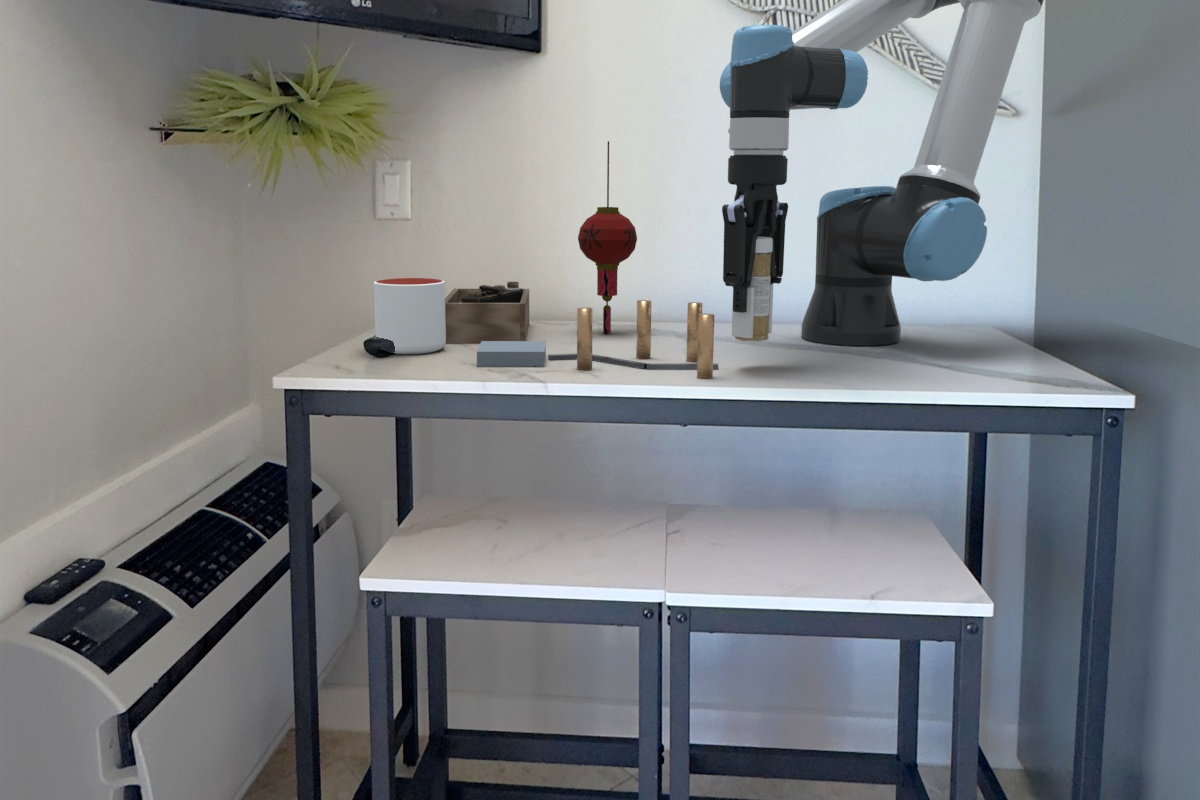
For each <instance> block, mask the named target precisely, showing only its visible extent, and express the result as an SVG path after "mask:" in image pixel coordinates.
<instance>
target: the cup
mask: <svg viewBox="0 0 1200 800" xmlns="http://www.w3.org/2000/svg"><path fill="white" fill-rule="evenodd" d="M445 283H446V281H445V280H444V279H439V278H429V277H427V278H426V277H400V278H399V277H397V278H396V277H395V278H393V277H392V278H385V279H384V278H383V279H378V280H375V281H374V282H373V297H374V298H373V300H374V302H373V303H374V324H375V325H374V327H375V331H374V332H375V338H376V337H379V338H384V339H388V340H391V341H393V343H394V346H395V352H394V353H395V354H394V355H423V354H431V353H435V352H438V351H440V350H441V349H443V348H444V346H445V345H446V344H447V343H446V319H445V298H446V288H445V287H446V284H445Z"/></svg>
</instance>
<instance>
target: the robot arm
mask: <svg viewBox="0 0 1200 800" xmlns="http://www.w3.org/2000/svg"><path fill="white" fill-rule="evenodd" d="M1044 1H1045V0H840V1H838V2H836V3H835V4H834V5H832V6H830V7H829V8H827V9H825V10H823V12H821V13H819V14H818V15H816V16H815V17H813V18H812V19H810V20H809V21H806V22H805V23H803V24H802V25H801V26H799V27H798V28H796V29H794V30H792V29H791V28H790V27H788V26H785V25H782V24H781V25H779V24H754V25H753V24H752V25H746V26H742V27H740V28H738V29H736V30H735V32H734V34H733V37H732V43H731V51H730V53H731V54H730V62H729V63H728V64H727V65H726V66H725V67H724V69H723V70H722V73H721V76H720V78H719V92H720V96H721V99H722V100H723V103H724V104H725V105H726V106H727V107H728V108H729V118H730V120H729V127H728V132H727V133H728V134H729V139H728V140H729V141H728V143H729V144H728V147H729V150H730V151H733V155H729V157H728V160H727V162H728V163H727V165H728V166H727V182H728V184H729V185H733V186H734V185H735V186H736V191H735V195H734V200H733V203H731V204H723V205H722V207H721V212H722V219H723V262H722V263H723V265H722V266H723V267H722V273H723V274H722V279H723V280H722V281H723V282H724V285H725V286H726V287H732V289H733V290H732V312H731V313H732V315H731V316H732V317H731V337H734V338H735V337H743V338H753V316H754V287H750V285H751V280H752V273H753V266H754V259H755V252H756V240H757V238H758V236H763V237H770V238H772V239H773V250H772V252H771V254H772V255H771V263H770V276H771V279H770V302H769V315H768V335H769V334H772V333H773V328H772V327H773V306H774V305H773V303H774V300H773V299H774V284H778V285H779V284H781V283H782V279H783V278H782V277H783V275H784V261H785V260H784V259H785V256H784V255H785V237H786V220H787V217H788V209H789V204H788V203H787V202H780V201H779V196H778V195H779V194H778V192H777V191H778V190H777V186H784V185H785V184H786V183H787V181H788V180H787V179H788V158H787V156H786V155H784V152H785V151H788V150H789V143H790V141H789V136H790V134H789V132H790V111H793V110H794V111H795V110H807V109H829V110H838V109H849V108H852V107H854V106H856V105H857V104H858V103H859V102H860V101H861V99H862V98H863V96H864V95H865V93H866V90H867V87H868V79H869V78H868V76H869V69H868V66H867V63H866V61H865V59H864V58H863V56H862V55H861V54H859V53H858V52H860V51H861V50H862V49H864V48H865V47H867V46H869V45H871V44H872V43H873V42H875V41H877V40H878V39H879V38H881V37H882V36H884V35H886V34H887V33H888V32H890V31H892V30H893V29H894V28H896V27H898V26H900V25H901V24H902V23H904V22H905V21H907V20H908V19H910V18H911V19H921V18H923V17H925V16H927V15H928V14H930V13H932V12H933V11H935V10H937V9H939V8H944V7H948V6H951V5H954V4H960V5H961V7H962V9H963V12H962V15H961V19H960V21H959V24H958V28H957V31H956V34H955V36H954V40H953V43H952V46H951V49H950V53H949V55H948V59H947V62H946V66H945V68H944V72H943V75H942V78H941V81H940V84H939V87H938V90H937V94H936V96H935V100H934V103H933V106H932V109H931V113H930V116H929V119H928V123H927V125H926V128H925V132H924V134H923V137H922V141H921V144H920V148H919V150H918V154H917V157H916V160H915V163H914V166H913V168H912V169H910V170H908V171H906V172H904V173H902V174H901V175H900V176H899V178H898V181H897V184H896V187H894V186H890V185H888V186H887V185H880V186H879V185H876V186H862V187H849V188H841V189H835V190H831V191H828V192H826V193H824V194H822V196H821V198H820V201H819V205H818V215H817V216H816V249H815V251H816V253H815V254H816V255H815V279H814V289H813V293H812V295H811V297H810V300H809V302H808V306H807V308H806V311H805V314H804V317H803V319H802V322H801V334H800V337H801V338H803V339H805V340H807V341H811V342H816V343H822V344H829V345H830V344H831V345H844V346H880V345H881V346H883V345H890V344H894V343H898V342H900V340H901V330H902V328H901V327H902V326H901V322H900V318H899V315H898V311H897V308H896V304H895V300H894V296H893V292H892V289H893V287H892V283H893V277H897V278H907V279H914V280H918V281H920V282H933V281H934V282H935V281H939V282H945V281H946V282H947V281H951V280H954V279H957V278H958V277H960V276H962V275H963V274H965V273H967V271H969V270H970V269H971V268H972V267H973V266H974V265H975V263H976V262H977V261H978V259H979V258H980V256H981V254H982V251H983V249H984V247H985V245H986V241H987V234H988V227H987V226H986V225H985V222H986V221H987V218H986V214H985V212H984V210H983V208H982V207H981V206H980V199H981V196H982V195H981V193H980V191H979V190H978V188H977V186H976V185H975V180H976V176H977V173H978V170H979V167H980V165H981V160H982V157H983V155H984V151H985V147H986V144H987V143H988V139H989V136H990V132H991V130H992V125H993V123H994V120H995V117H996V113H997V111H998V107H999V104H1000V101H1001V97H1002V95H1003V91H1004V89H1005V85H1006V82H1007V79H1008V76H1009V74H1010V70H1011V66H1012V64H1013V60H1014V57H1015V54H1016V51H1017V47H1018V44H1019V42H1020V38H1021V34H1022V32H1023V30H1024V26H1025V23H1026V22H1028V21H1030V20H1032V19H1035V18H1036V17H1037V16H1038V15H1039V14H1040V13H1041V9H1042V6H1043V4H1044Z"/></svg>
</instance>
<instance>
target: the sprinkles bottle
mask: <svg viewBox="0 0 1200 800" xmlns="http://www.w3.org/2000/svg"><path fill="white" fill-rule="evenodd" d="M772 250H773V239H772V238H770V237H763V236H758V238H757V240H756V252H755V259H754V266H753V273H752V280H751V285H750V287H754V316H753V338H743V337H734V338H735V339H736V340H739V341H742V342H763V341H767V340H768V339H769V334H768V315H769V302H770V279H771V276H770V263H771V255H772V254H771V252H772Z"/></svg>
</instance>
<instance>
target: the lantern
mask: <svg viewBox="0 0 1200 800" xmlns="http://www.w3.org/2000/svg"><path fill="white" fill-rule="evenodd" d="M606 173H607V174H606V175H607V178H606V179H607V181H606V183H607V184H606V185H607V187H606V188H607V189H606V190H607V191H606V194H607V195H606V196H607V197H606V206H598V207H596V209H597V210H596V211H595V213H594V214H592V215H590V216H589V217H587V218H586V220H585V221H583V224H582V225H581V226H580V228H579V230H578V236H577V239H578V240H577V241H578V245H579V249H580V250H581V252H582V253H583V255H584V256H585V257H586V258H587V259H588V260H590V261H592V262H593V263H595V266H596V271H597V272H596V273H597V276H596V277H597V278H596V279H597V283H596V285H597V289H596V290H597V291H596V293H597V294H596V295H597V296H600V297H601V299H602V301H604V302H606V303H605V305H604V306H603V308H602V309H603V312H602V314H603V316H602V317H603V318H602V325H603V327H602V334H603V335H611V332H612V331H611V329H612V328H611V327H612V326H611V325H612V323H611V321H612V319H611V317H612V314H611V313H612V307H611V306H610V305H609V302H610V301H612V299H613V297H616V296H618V270H619V266H620V263H621V262H624V261H626V260H628V259H629V258H630V256H631V255H632V254H633V253H634V251H635V249H636V246H637V241H638V235H637V231H636V227H635V226H634V224H633V223H632V221H631V220H630V218H628V217H627V216H625V215H623V214H622V213H621V212H620V211H619V206H616V207H615V206H610V203H609V201H610V195H609V194H610V192H609V191H610V141H609V140H608V141H607V172H606Z"/></svg>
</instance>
